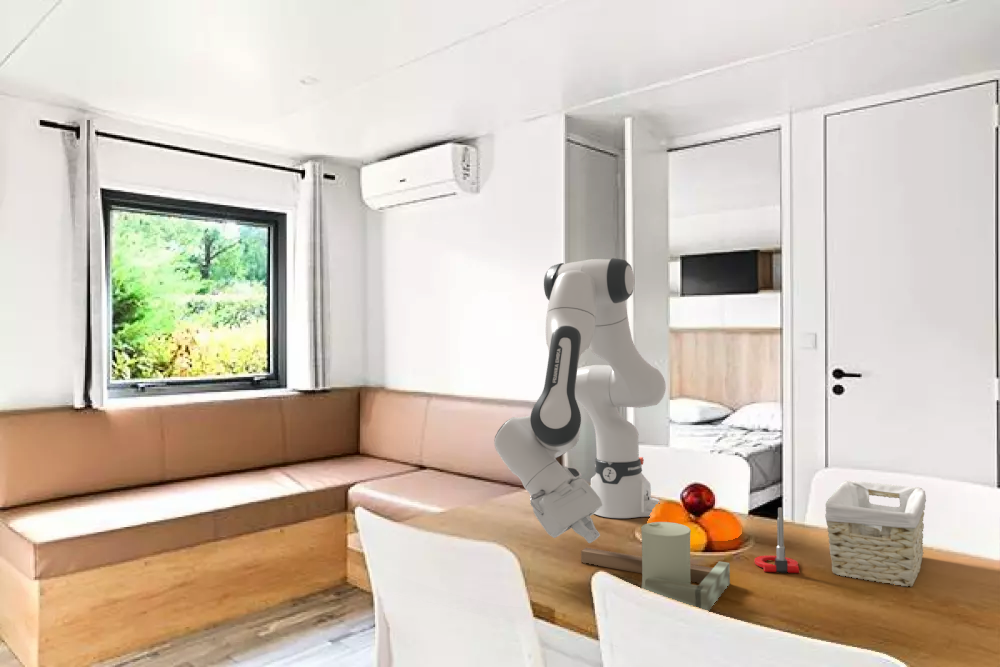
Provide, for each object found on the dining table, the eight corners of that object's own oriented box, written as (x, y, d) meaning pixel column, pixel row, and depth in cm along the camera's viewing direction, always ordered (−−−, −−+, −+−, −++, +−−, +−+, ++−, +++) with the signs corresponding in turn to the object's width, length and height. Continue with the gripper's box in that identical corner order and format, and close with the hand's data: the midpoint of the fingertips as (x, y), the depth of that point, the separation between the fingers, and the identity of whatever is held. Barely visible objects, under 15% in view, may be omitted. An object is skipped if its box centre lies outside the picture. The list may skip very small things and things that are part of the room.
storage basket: (917, 593, 132) (916, 513, 131) (822, 576, 141) (821, 501, 141) (928, 557, 151) (927, 487, 151) (844, 544, 161) (843, 478, 160)
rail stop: (586, 559, 153) (585, 540, 153) (729, 583, 137) (729, 562, 137) (551, 584, 139) (550, 563, 139) (706, 614, 123) (706, 591, 123)
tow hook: (750, 560, 152) (759, 573, 143) (750, 498, 153) (759, 508, 143) (792, 561, 151) (804, 574, 142) (791, 500, 151) (803, 509, 142)
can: (664, 577, 142) (663, 516, 141) (702, 590, 134) (701, 527, 134) (631, 587, 136) (630, 524, 136) (668, 602, 129) (667, 536, 129)
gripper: (536, 487, 138) (583, 544, 134) (580, 466, 156) (623, 517, 151) (516, 507, 141) (562, 564, 136) (562, 485, 158) (604, 535, 153)
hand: (595, 539), depth 144 cm, fingers closed
